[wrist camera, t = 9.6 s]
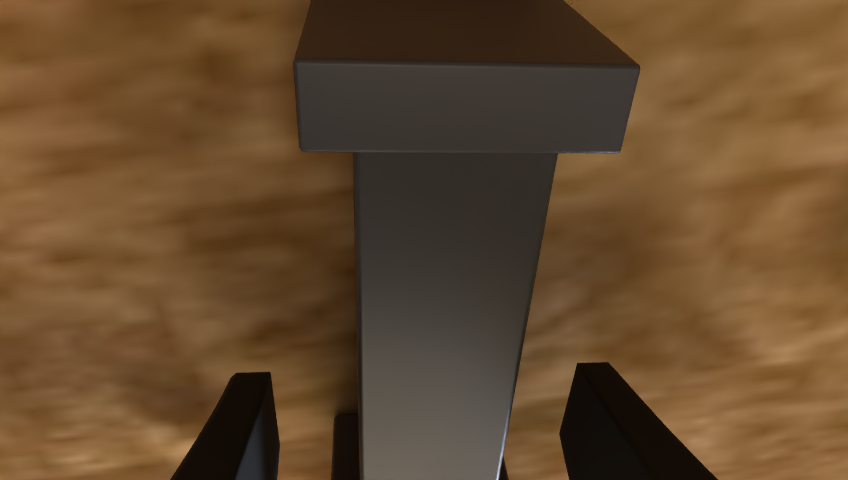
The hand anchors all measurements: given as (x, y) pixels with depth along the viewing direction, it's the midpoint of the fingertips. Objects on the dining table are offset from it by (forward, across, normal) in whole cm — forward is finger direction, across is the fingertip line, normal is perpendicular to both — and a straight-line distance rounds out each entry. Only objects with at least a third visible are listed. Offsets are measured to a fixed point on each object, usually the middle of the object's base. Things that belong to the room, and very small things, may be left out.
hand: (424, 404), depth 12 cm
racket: (+1, 0, +5) cm, 5 cm away
